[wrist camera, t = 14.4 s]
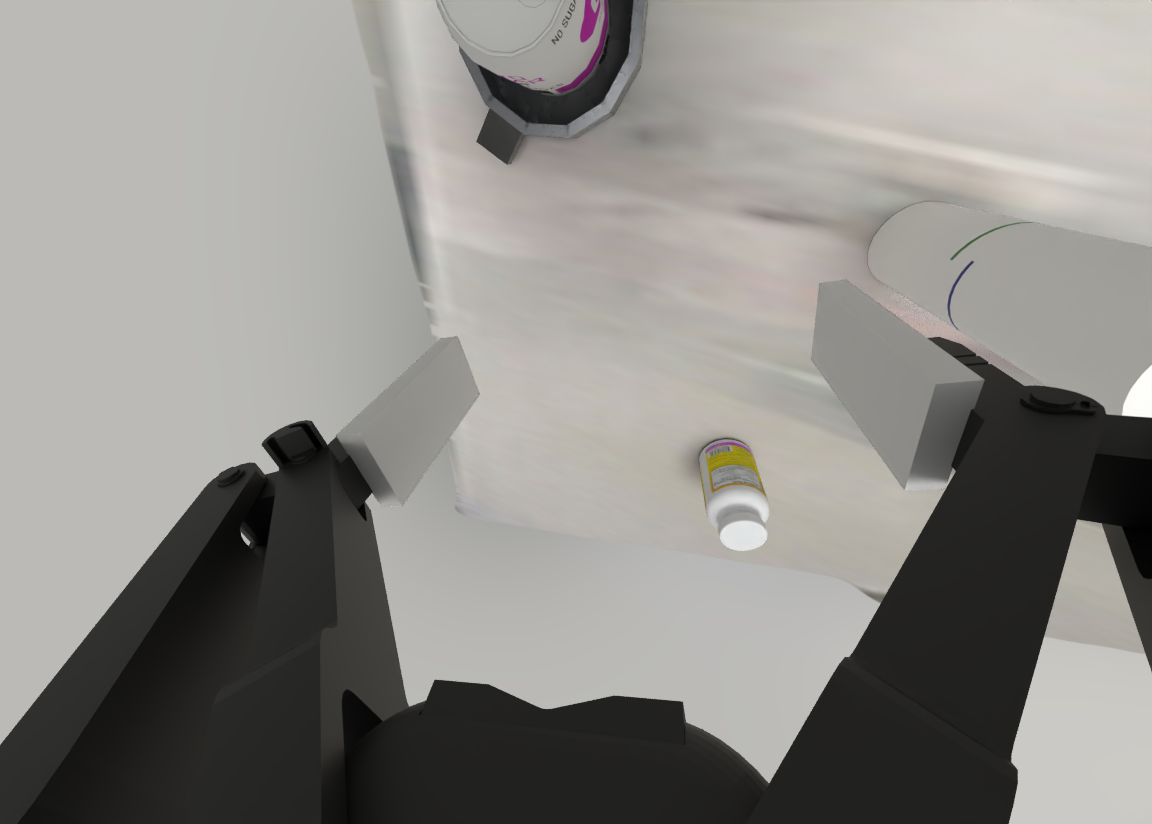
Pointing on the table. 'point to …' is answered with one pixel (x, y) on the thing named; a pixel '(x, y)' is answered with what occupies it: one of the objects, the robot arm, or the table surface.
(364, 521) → the robot arm
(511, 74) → the supplement can
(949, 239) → the cylindrical container
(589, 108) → the cooker pot
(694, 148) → the table surface
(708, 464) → the supplement bottle
